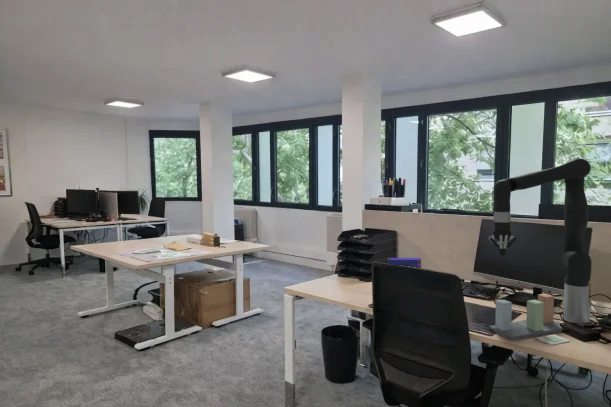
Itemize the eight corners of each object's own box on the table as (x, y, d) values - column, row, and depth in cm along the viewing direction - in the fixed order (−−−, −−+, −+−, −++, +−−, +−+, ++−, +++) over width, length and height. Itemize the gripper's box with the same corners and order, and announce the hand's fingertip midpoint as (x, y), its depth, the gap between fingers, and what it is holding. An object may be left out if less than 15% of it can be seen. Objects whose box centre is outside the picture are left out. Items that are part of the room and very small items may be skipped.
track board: (542, 320, 186) (542, 317, 186) (568, 330, 174) (568, 326, 173) (489, 329, 176) (489, 326, 176) (512, 340, 164) (512, 336, 164)
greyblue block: (503, 325, 176) (503, 299, 175) (511, 329, 172) (511, 302, 171) (495, 327, 174) (495, 300, 174) (503, 330, 170) (503, 303, 170)
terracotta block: (544, 318, 183) (545, 293, 182) (553, 322, 179) (553, 296, 178) (537, 320, 182) (537, 294, 181) (545, 323, 178) (546, 297, 177)
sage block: (534, 326, 175) (534, 299, 174) (543, 329, 170) (543, 302, 170) (526, 327, 173) (526, 300, 172) (535, 331, 169) (535, 303, 168)
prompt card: (554, 335, 168) (554, 333, 168) (570, 341, 162) (570, 340, 162) (536, 338, 165) (536, 337, 165) (551, 345, 159) (551, 343, 159)
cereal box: (419, 300, 220) (419, 257, 219) (421, 302, 215) (421, 259, 214) (387, 299, 222) (387, 257, 220) (388, 302, 217) (388, 259, 216)
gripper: (490, 221, 191) (490, 257, 192) (519, 221, 189) (519, 257, 190) (485, 220, 198) (485, 254, 199) (513, 219, 196) (513, 254, 197)
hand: (502, 255), depth 194 cm, fingers closed
